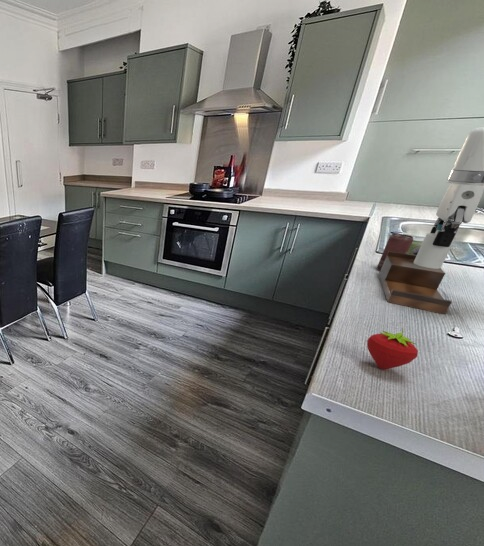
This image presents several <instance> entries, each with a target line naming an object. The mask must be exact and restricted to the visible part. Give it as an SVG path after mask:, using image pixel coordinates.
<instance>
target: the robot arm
mask: <svg viewBox="0 0 484 546" xmlns="http://www.w3.org/2000/svg"><path fill="white" fill-rule="evenodd" d="M445 183H446V184H447V183H448V184H449V186H448V188H447V189H446V191H445V193H444V195H443V197H442V199H441V201H440V203H439V205H438V207H437V210H436V213H435V215H436V217H437V219H436V221H435V222H434V224H433V226H432V228H431V230H430V232H429V233H436V230H437V229H436V228H437V226H438V224H443V226H442V228H441V231H438V233H437V235H436V237H435V240H434V242H433V245H435V246H442V247H449V246H450V245H451V243H452V241H453V239H454V237H455V238H456V235H457V232H458V231H459V228H460V225H462V223H463V224H468V223H471V221H472V219H473V217H474V215H475V212H476V210H477V208H478V206H479V203H480V202H481V199H482V196H483V194H484V126H480V127H479V126H477V127H474V128H473V129H471V130H470V131H469V132H468V133H467V135H466V138H465V140H464V142H463V145H462V147H461V149H460V151H459V153H458V155H457V157H456V159H455V161H454V164H453V166H452V169H451V171H450V172H449V175H448V177H447V179H446V181H445ZM446 226H447V227H446Z"/></svg>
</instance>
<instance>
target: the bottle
mask: <svg viewBox="0 0 484 546" xmlns="http://www.w3.org/2000/svg"><path fill="white" fill-rule="evenodd" d="M442 226H443V224H438V226H437V228H436V229H437V230H436V233H430V232H428V233H426V235H425V237H424V238H425V239H424V241H423V243H422V245H421V247H420V249H419V252H418V254H417V256H416V258H415V260H414V262H413V263H414V264H416V265H419V266H423V267H427V268H435V269H439V268H441V269H442V266H443V265H444V263H445V260H446V258H447V257H448V254H449V253H450V251H451V248H452V247H453V245H454V242H455V241H456V239H457V238H456V236H455V237H454V239H453V241H452V243H451V245H450V246H449V247H442V246H435V245H433V242H434V240H435V237H436V235H437V233H438V231H441V228H442ZM446 227H447V226H446Z"/></svg>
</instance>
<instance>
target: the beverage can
mask: <svg viewBox="0 0 484 546" xmlns="http://www.w3.org/2000/svg"><path fill="white" fill-rule="evenodd" d="M424 239H425V237H415V238H414V237H413V242H412V244H411V246H410V248H409V251H408V253H407V254H412V255H417V254H418V252H419V249H420V247H421V245H422V243H423V241H424Z"/></svg>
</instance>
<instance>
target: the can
mask: <svg viewBox="0 0 484 546" xmlns="http://www.w3.org/2000/svg"><path fill="white" fill-rule="evenodd" d="M413 238H414V236H412V235H409V234H403V233H396V232H395V233H392V234H391V235H389V237H388V240H387V242H386V245H385V247H384V249H383V252H382V254H381V256H380V259H379V261H378V264H377V266H376V270H377V271H378V272H380V270H381V268H382V266H383V263H384V261H385V259H386V256H387V254H388V252H389V251H392V252H399V253H406V254H407V253H408V251H409V248H410V246H411V244H412V242H413Z"/></svg>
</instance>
